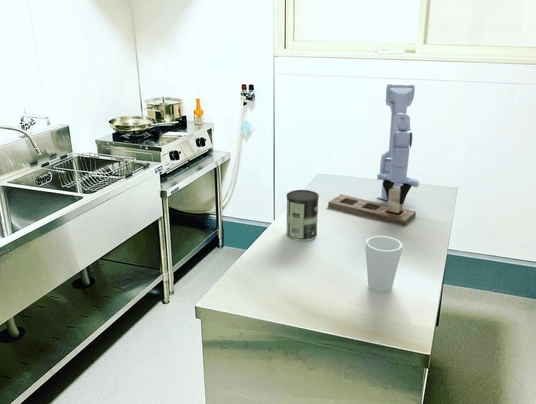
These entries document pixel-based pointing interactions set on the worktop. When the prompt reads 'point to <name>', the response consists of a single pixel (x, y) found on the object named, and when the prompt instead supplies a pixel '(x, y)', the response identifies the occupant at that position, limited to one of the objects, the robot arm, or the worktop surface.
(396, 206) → the peg
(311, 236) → the coffee can
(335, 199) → the brown slotted board
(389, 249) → the foam cup
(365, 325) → the worktop surface
